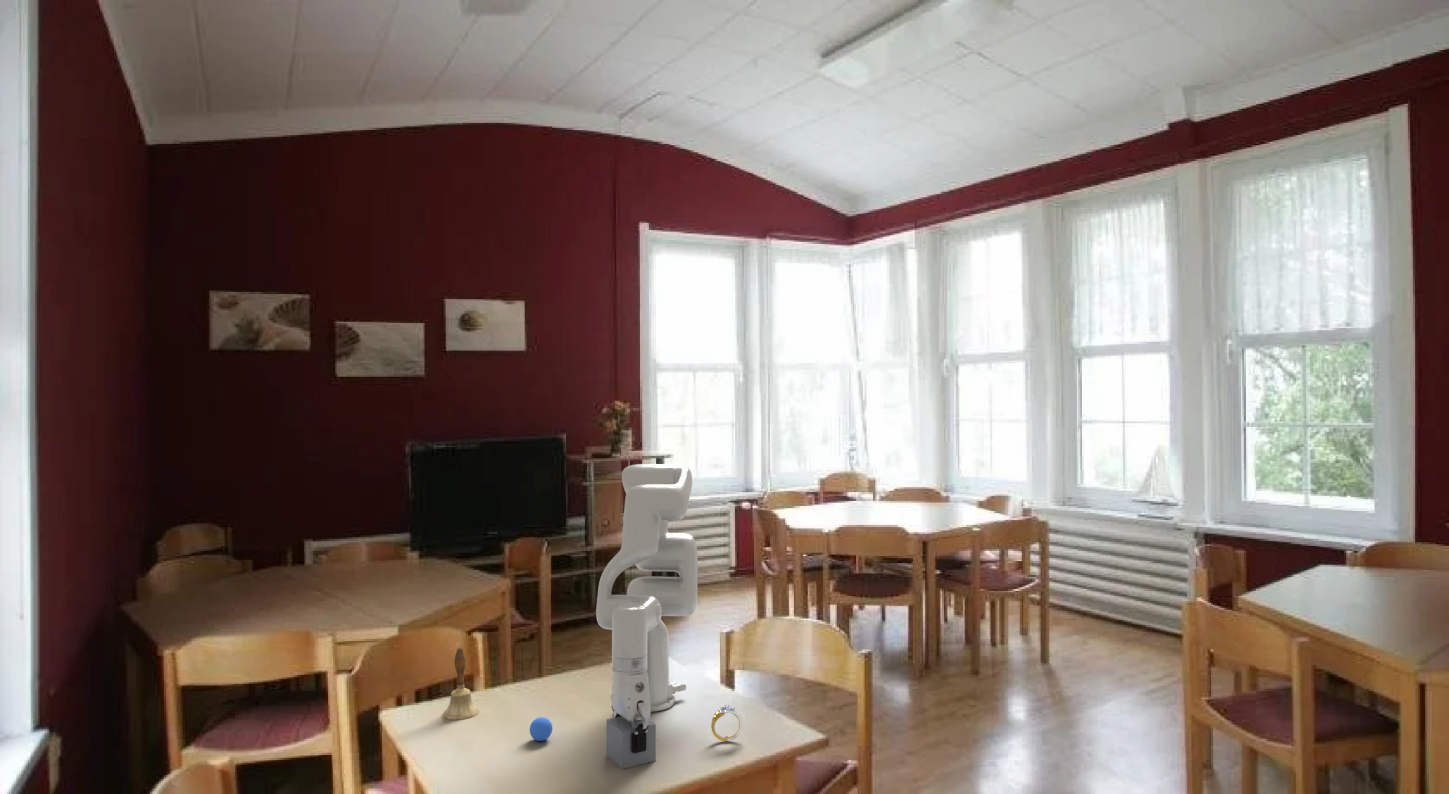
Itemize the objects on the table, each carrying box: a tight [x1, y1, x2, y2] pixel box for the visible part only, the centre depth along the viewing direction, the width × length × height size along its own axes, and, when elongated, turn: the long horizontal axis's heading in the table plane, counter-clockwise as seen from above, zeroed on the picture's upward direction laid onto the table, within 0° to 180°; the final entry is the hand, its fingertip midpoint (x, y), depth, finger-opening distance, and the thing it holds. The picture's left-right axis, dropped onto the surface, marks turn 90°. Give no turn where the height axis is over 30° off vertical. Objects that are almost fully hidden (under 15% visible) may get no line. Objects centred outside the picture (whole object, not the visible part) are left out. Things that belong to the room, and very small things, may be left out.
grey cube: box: [606, 715, 657, 770], centre depth 183 cm, size 8×8×8 cm
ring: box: [710, 704, 743, 742], centre depth 191 cm, size 7×3×8 cm, turn 92°
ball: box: [529, 716, 553, 742], centre depth 192 cm, size 5×5×5 cm
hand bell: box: [442, 647, 479, 721], centre depth 208 cm, size 8×8×16 cm
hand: (629, 744), depth 183 cm, fingers open, 8 cm apart
